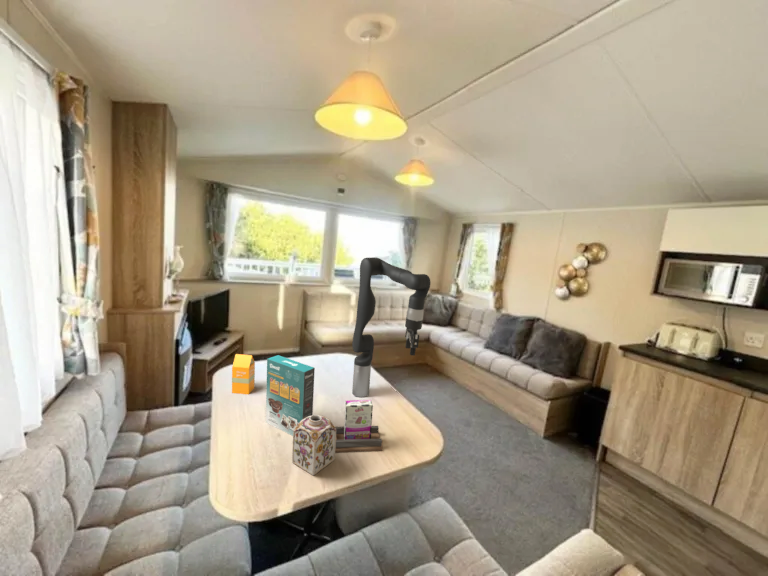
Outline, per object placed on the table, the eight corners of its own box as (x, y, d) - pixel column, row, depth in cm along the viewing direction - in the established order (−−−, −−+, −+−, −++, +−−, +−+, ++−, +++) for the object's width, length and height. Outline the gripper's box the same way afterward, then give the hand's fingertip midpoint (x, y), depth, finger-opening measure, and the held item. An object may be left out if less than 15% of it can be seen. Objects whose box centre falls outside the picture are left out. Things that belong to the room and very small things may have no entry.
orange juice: (248, 394, 175) (249, 357, 172) (231, 393, 175) (231, 356, 172) (254, 387, 183) (255, 352, 180) (238, 386, 183) (238, 351, 180)
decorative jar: (291, 462, 127) (292, 418, 124) (313, 448, 136) (315, 406, 133) (313, 477, 120) (316, 430, 117) (335, 460, 130) (338, 417, 127)
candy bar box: (369, 434, 146) (371, 399, 144) (370, 441, 142) (373, 405, 139) (343, 435, 144) (345, 399, 142) (344, 442, 139) (346, 405, 137)
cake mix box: (311, 433, 146) (314, 367, 141) (301, 440, 140) (304, 372, 136) (276, 416, 156) (277, 355, 152) (265, 422, 151) (267, 358, 147)
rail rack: (331, 432, 148) (332, 424, 147) (377, 430, 151) (377, 423, 151) (332, 452, 134) (332, 444, 134) (381, 450, 138) (382, 442, 137)
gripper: (403, 312, 159) (398, 345, 162) (410, 321, 145) (405, 357, 148) (418, 314, 160) (413, 346, 163) (427, 322, 146) (422, 358, 149)
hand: (409, 351), depth 155 cm, fingers open, 8 cm apart
